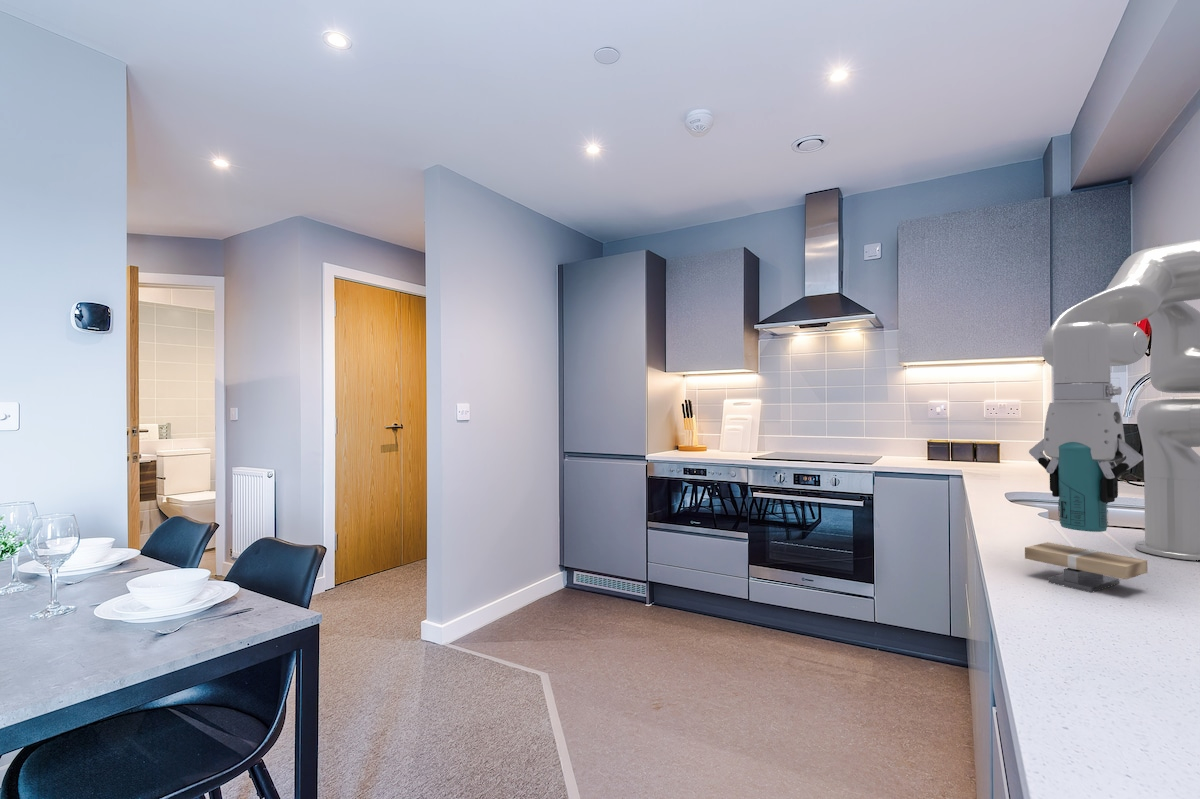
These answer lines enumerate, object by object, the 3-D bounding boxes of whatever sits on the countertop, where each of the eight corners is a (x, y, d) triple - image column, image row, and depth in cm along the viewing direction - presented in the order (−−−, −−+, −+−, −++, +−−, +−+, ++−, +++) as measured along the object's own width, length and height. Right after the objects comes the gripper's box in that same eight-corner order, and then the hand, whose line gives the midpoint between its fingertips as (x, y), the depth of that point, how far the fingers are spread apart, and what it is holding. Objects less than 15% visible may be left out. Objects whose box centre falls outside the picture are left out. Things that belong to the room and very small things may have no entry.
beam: (1047, 553, 105) (1047, 542, 105) (1147, 572, 93) (1147, 560, 93) (1024, 558, 101) (1024, 547, 101) (1125, 579, 89) (1125, 566, 89)
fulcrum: (1076, 574, 102) (1076, 559, 102) (1119, 583, 97) (1119, 567, 97) (1048, 582, 97) (1048, 566, 97) (1091, 592, 92) (1091, 575, 92)
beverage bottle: (1119, 541, 94) (1116, 420, 94) (1078, 541, 94) (1076, 420, 94) (1086, 532, 100) (1084, 419, 101) (1048, 532, 101) (1046, 419, 101)
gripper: (1157, 393, 92) (1159, 505, 91) (1035, 395, 107) (1036, 491, 107) (1137, 393, 88) (1139, 508, 88) (1013, 395, 103) (1014, 493, 103)
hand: (1082, 498), depth 97 cm, fingers closed on beverage bottle, 6 cm apart
